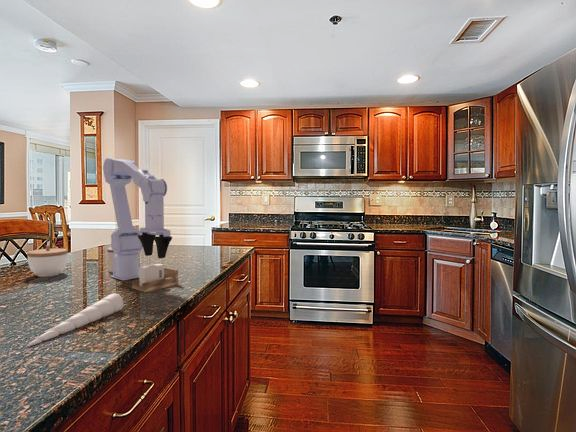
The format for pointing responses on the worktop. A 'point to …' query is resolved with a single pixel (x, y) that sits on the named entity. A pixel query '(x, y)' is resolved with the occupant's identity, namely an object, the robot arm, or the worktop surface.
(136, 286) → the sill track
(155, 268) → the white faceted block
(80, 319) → the unicorn horn
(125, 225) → the robot arm
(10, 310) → the worktop surface
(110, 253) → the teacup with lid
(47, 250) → the lidded bowl
